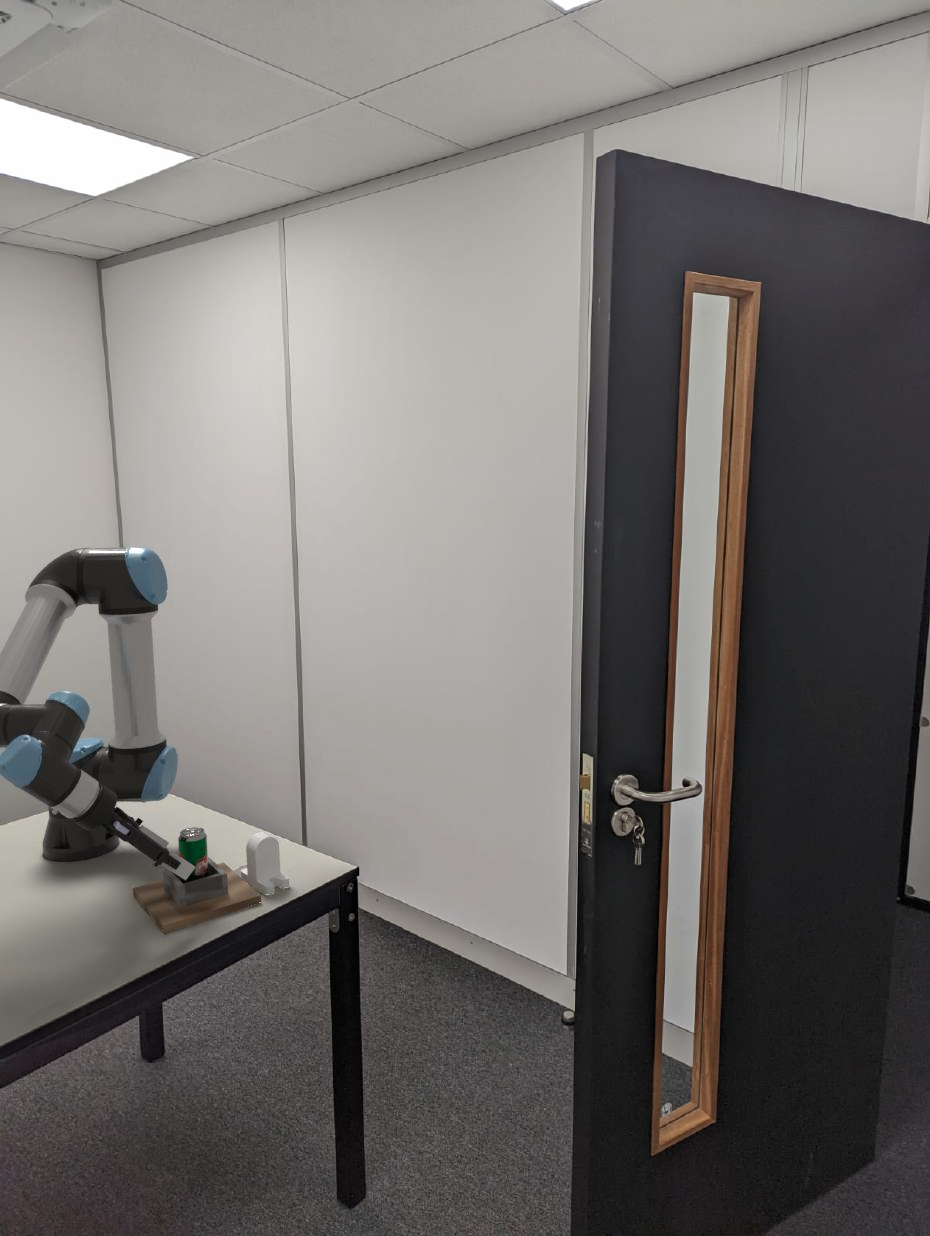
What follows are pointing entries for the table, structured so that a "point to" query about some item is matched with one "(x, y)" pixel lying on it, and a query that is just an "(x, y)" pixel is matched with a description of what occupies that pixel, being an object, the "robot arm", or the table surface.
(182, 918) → the socket board
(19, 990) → the table surface
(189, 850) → the soda can
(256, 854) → the cable organizer
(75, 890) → the table surface
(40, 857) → the table surface
